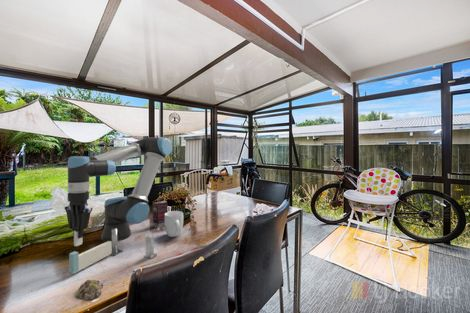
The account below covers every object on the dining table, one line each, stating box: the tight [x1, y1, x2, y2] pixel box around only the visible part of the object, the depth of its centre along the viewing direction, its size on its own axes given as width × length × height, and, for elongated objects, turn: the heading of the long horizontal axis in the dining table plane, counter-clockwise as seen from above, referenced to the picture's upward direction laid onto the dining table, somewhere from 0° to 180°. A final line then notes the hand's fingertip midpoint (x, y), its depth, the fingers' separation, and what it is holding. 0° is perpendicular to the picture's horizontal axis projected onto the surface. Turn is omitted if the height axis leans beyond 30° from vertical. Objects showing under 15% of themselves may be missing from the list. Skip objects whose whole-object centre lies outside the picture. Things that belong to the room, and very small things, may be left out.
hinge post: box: [109, 228, 124, 257], centre depth 102 cm, size 5×5×12 cm
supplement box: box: [152, 200, 168, 228], centre depth 141 cm, size 9×5×16 cm, turn 146°
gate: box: [68, 241, 112, 275], centre depth 92 cm, size 18×2×8 cm, turn 161°
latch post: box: [143, 235, 157, 260], centre depth 99 cm, size 4×4×10 cm
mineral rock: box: [75, 279, 104, 301], centre depth 74 cm, size 11×4×8 cm
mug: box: [164, 210, 184, 238], centre depth 124 cm, size 15×11×13 cm
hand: (78, 244), depth 91 cm, fingers closed
